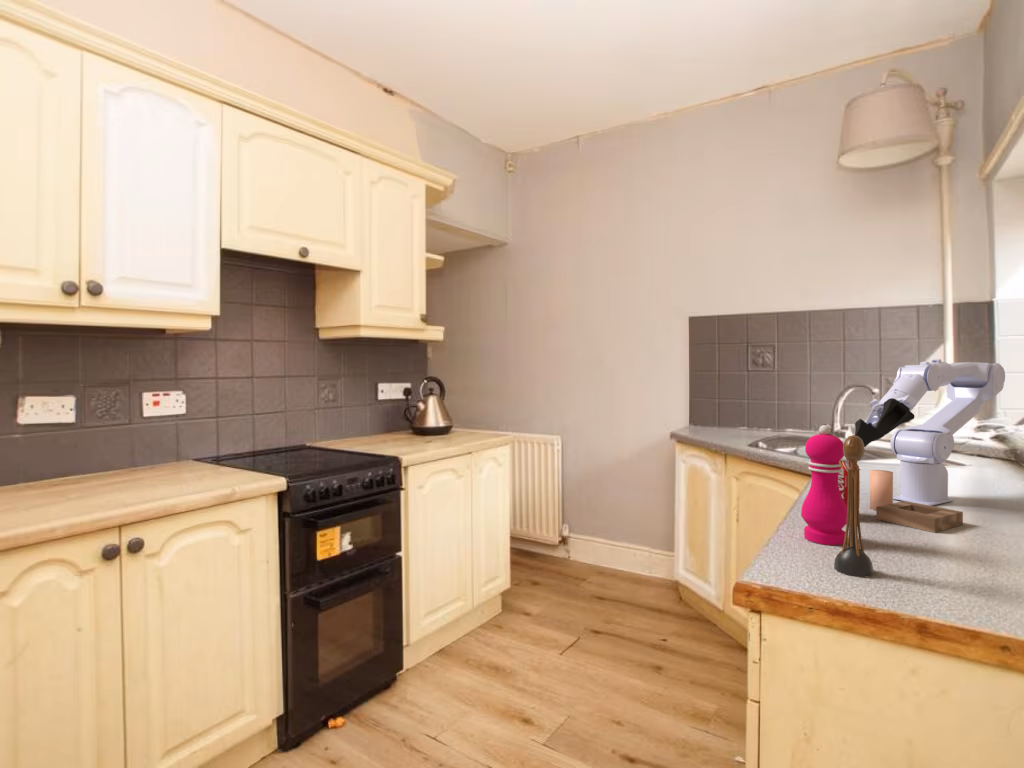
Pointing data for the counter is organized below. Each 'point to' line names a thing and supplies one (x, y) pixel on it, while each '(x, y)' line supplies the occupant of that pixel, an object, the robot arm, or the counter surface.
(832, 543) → the pepper mill
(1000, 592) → the counter surface
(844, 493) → the soda can
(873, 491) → the peg
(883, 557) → the counter surface
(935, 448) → the robot arm
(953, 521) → the socket block
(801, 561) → the counter surface
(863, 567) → the wooden tabletop sculpture
